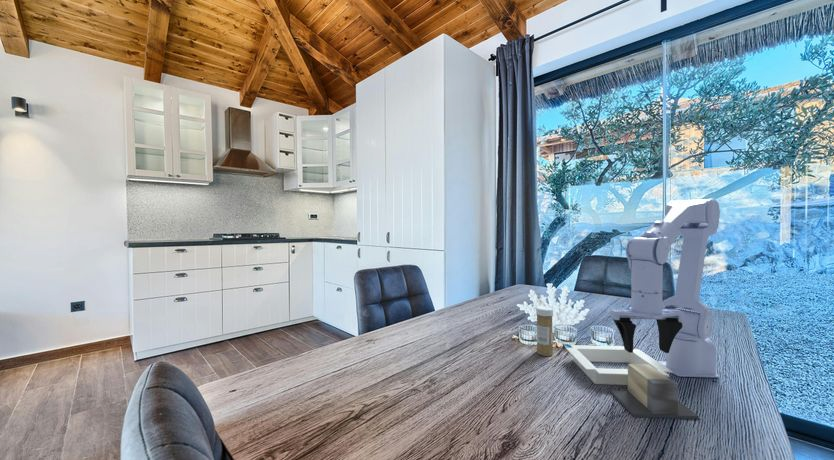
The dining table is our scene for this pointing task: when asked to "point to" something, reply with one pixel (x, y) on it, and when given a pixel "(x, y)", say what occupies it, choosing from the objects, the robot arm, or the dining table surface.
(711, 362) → the robot arm
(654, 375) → the birch block
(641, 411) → the rubber mat
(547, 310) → the sprinkles bottle
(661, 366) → the white flat frame
